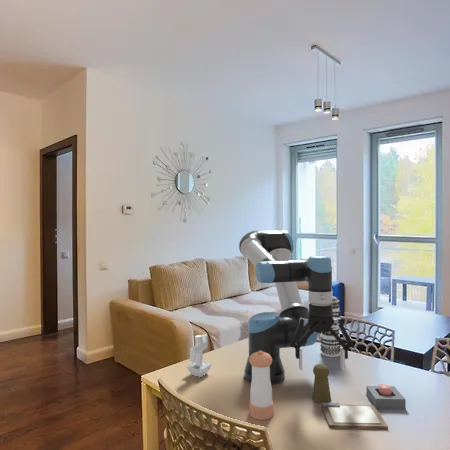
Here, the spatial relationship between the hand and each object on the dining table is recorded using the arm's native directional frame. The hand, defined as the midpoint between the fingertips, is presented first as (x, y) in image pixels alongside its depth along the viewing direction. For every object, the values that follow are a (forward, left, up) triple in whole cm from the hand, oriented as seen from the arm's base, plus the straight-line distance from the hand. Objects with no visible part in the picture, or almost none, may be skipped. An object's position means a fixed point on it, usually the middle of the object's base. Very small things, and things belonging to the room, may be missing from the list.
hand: (321, 368), depth 119 cm
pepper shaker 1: (-20, -10, -10) cm, 25 cm away
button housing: (+20, -1, -10) cm, 22 cm away
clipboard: (+7, -11, -10) cm, 16 cm away
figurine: (-43, +18, -10) cm, 48 cm away
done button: (+20, -1, -8) cm, 21 cm away
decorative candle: (+12, +42, -10) cm, 45 cm away
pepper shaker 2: (0, 0, -10) cm, 10 cm away
